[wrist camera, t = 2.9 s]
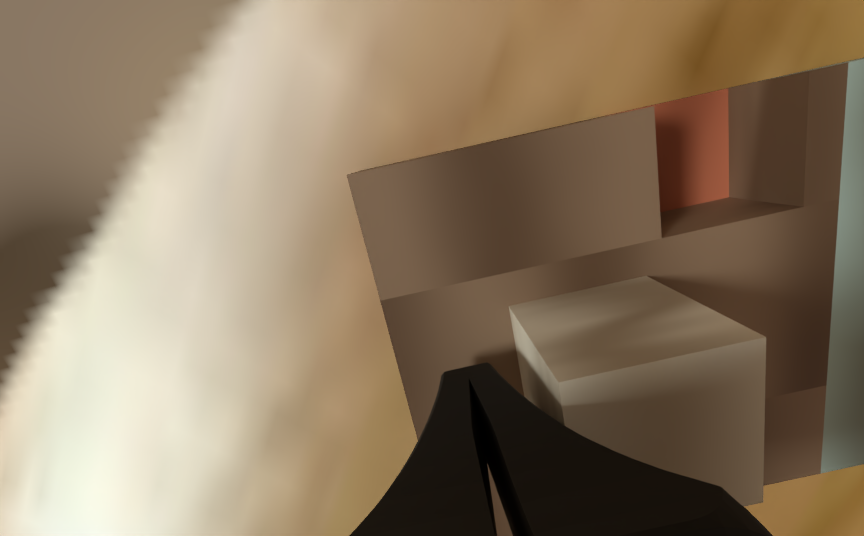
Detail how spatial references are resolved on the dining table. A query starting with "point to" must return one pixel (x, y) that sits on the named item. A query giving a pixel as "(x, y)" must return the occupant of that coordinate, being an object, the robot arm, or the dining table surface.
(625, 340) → the block
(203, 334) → the dining table surface
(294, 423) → the dining table surface
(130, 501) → the dining table surface
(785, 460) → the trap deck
